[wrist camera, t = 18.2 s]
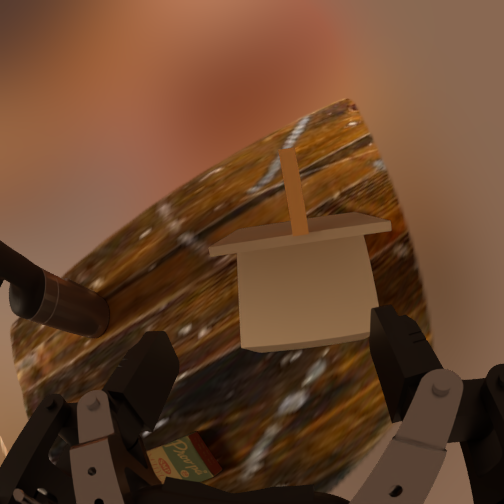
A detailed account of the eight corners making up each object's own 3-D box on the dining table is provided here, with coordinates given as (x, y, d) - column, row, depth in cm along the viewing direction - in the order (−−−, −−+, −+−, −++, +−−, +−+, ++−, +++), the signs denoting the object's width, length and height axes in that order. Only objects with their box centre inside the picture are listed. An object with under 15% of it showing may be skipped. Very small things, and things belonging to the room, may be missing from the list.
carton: (133, 454, 36) (119, 459, 32) (198, 429, 37) (187, 434, 33) (154, 490, 32) (142, 497, 28) (224, 469, 33) (215, 477, 29)
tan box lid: (239, 235, 35) (229, 179, 34) (355, 218, 32) (346, 160, 31) (206, 259, 21) (189, 168, 20) (396, 232, 19) (381, 138, 18)
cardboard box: (254, 268, 46) (236, 236, 35) (349, 254, 43) (359, 218, 33) (260, 352, 40) (241, 347, 30) (364, 339, 37) (382, 329, 27)
